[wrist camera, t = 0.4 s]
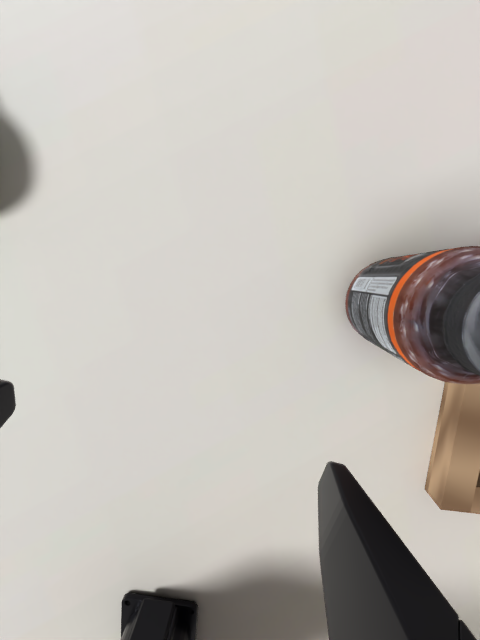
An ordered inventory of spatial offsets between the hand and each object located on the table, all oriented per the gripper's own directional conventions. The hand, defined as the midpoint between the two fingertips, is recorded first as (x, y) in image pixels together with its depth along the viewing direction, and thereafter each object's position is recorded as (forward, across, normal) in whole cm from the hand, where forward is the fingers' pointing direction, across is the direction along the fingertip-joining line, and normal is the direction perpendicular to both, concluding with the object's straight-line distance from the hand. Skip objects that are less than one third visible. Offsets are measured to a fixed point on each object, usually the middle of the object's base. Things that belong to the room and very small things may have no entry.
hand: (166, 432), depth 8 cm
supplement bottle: (+15, -10, -2) cm, 18 cm away
